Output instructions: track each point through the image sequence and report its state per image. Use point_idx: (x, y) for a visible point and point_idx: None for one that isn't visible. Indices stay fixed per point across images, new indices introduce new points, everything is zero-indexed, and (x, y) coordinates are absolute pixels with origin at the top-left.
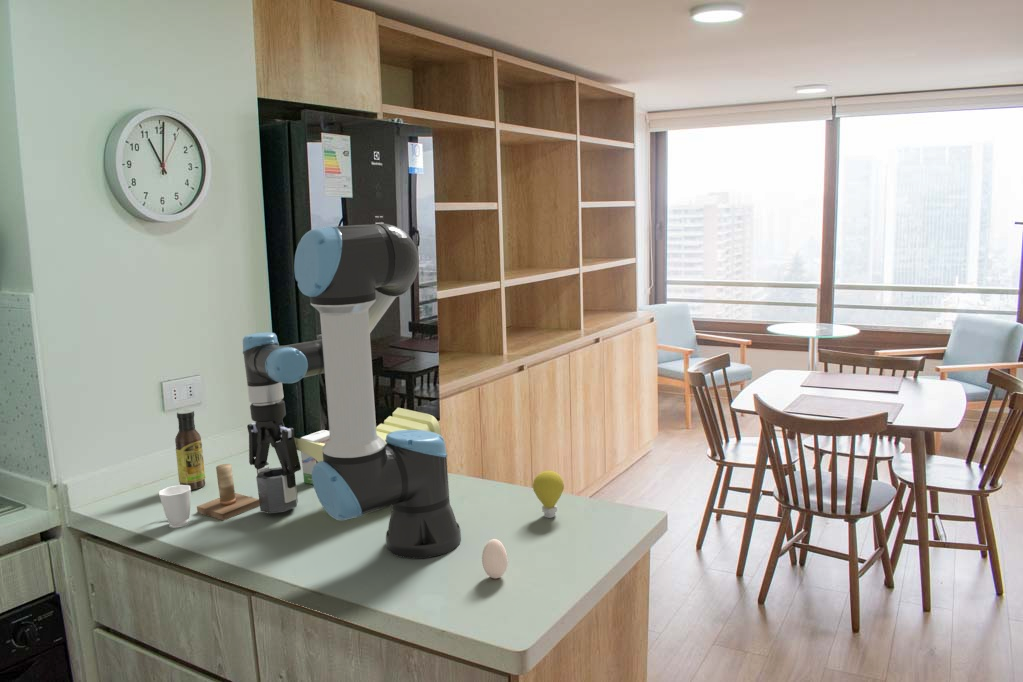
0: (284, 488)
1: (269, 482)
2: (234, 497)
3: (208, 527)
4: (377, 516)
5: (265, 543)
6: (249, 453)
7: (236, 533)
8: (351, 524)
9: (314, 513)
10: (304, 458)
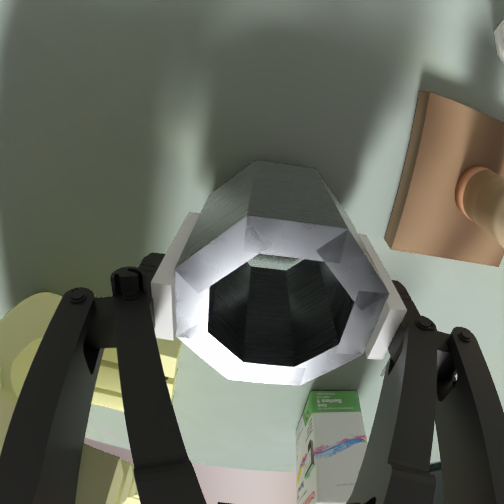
0: (179, 242)
1: (230, 217)
2: (465, 206)
3: (420, 29)
4: (16, 281)
5: (107, 7)
6: (489, 377)
7: (274, 8)
8: (16, 224)
9: (148, 247)
10: (354, 448)
